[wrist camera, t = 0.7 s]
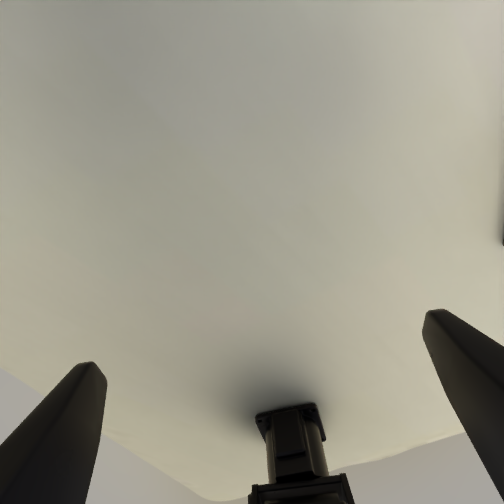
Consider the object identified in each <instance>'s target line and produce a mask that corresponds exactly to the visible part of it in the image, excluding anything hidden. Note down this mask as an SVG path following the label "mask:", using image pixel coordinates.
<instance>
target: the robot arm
mask: <svg viewBox="0 0 504 504" xmlns="http://www.w3.org/2000/svg"><path fill="white" fill-rule="evenodd" d="M422 336H423V340H424V342H425V345H426V347H427V349H428V352H429V354H430V357H431V359H432V362H433V364H434V367H435V369H436V371H437V374H438V376H439V379H440V381H441V384H442V386H443V388H444V391H445V393H446V395H447V397H448V399H449V401H450V403H451V405H452V407H453V409H454V411H455V412H456V414H457V416H458V418H459V420H460V422H461V423H462V425H463V427H464V429H465V431H466V433H467V435H468V436H469V438H470V440H471V442H472V444H473V445H474V448H475V449H476V451H477V453H478V455H479V457H480V459H481V461H482V462H483V464H484V466H485V468H486V470H487V472H488V473H489V475H490V477H491V479H492V481H493V483H494V484H495V486H496V488H497V490H498V492H499V494H500V496H501V497H502V499H503V501H504V347H503V346H502V345H500V344H499V343H497V342H496V341H494V340H493V339H491V338H489V337H488V336H486V335H485V334H483V333H482V332H480V331H479V330H477V329H475V328H474V327H472V326H471V325H469V324H468V323H466V322H465V321H463V320H461V319H460V318H458V317H457V316H455V315H454V314H452V313H451V312H449V311H447V310H445V309H436V310H430V311H428V312H427V313H426V316H425V320H424V325H423V329H422ZM106 392H107V380H106V377H105V376H104V374H103V373H102V372H101V370H100V369H99V368H98V366H97V365H96V364H95V363H94V362H84V363H79V364H77V365H76V366H75V367H73V369H72V370H71V371H70V372H69V373H68V374H67V375H66V376H65V377H64V378H63V379H62V380H61V381H60V382H59V383H58V385H57V386H56V387H55V388H54V389H53V390H52V391H51V392H50V393H49V394H48V395H47V396H46V397H45V398H44V400H42V402H41V403H40V404H39V405H38V406H37V407H36V408H35V409H34V410H33V411H32V412H31V413H30V414H29V415H28V416H27V418H26V419H25V420H24V421H23V422H22V423H21V424H20V425H19V426H18V427H17V428H16V429H15V430H14V431H13V433H11V435H10V436H9V437H8V438H7V439H6V440H5V441H4V442H3V443H2V444H1V445H0V504H85V502H86V498H87V493H88V489H89V485H90V481H91V477H92V473H93V468H94V464H95V460H96V456H97V452H98V447H99V442H100V436H101V429H102V422H103V414H104V407H105V399H106ZM255 422H256V424H257V426H258V428H259V430H260V433H261V435H262V437H263V439H264V441H265V443H266V451H267V465H268V478H269V484H264V485H258V484H254V485H252V493H251V494H249V495H248V504H355V503H354V499H353V496H352V493H351V490H350V486H349V483H348V480H347V477H346V474H345V473H341V474H340V475H335V476H329V472H328V468H327V463H326V459H325V454H324V449H323V445H322V442H324V441H325V440H326V436H325V432H324V429H323V426H322V422H321V419H320V415H319V412H318V409H317V405H316V404H307V405H303V406H298V407H293V408H288V409H283V410H278V411H274V412H269V413H264V414H259V415H257V416H256V417H255Z"/></svg>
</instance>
